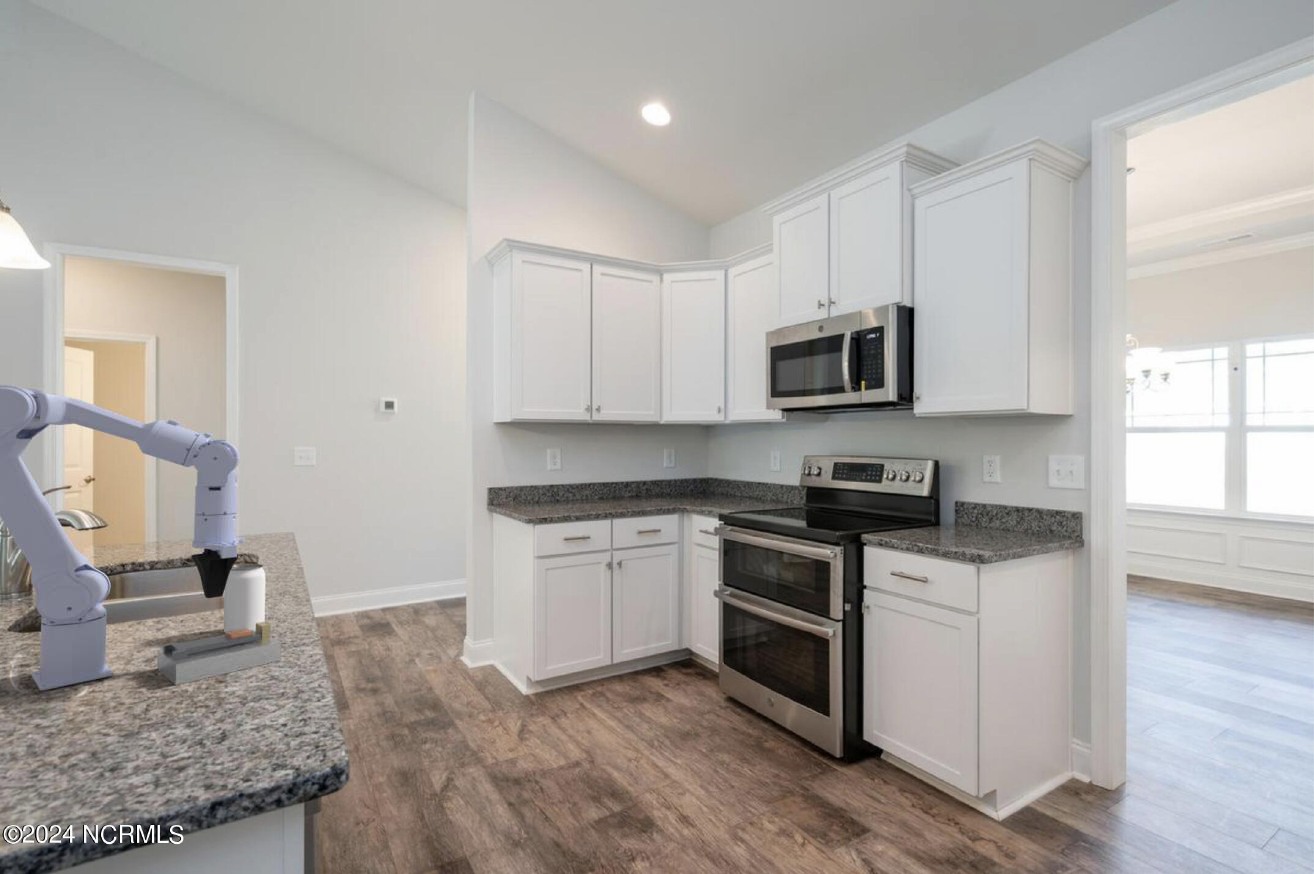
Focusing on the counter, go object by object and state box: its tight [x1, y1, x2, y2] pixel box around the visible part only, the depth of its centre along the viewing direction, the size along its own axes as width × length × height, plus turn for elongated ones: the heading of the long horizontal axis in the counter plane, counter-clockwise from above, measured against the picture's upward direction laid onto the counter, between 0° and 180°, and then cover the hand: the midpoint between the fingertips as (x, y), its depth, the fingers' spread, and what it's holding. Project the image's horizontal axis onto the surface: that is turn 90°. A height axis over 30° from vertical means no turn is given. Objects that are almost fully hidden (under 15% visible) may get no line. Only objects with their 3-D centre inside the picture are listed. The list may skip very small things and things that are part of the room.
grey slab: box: [171, 628, 261, 654], centre depth 100 cm, size 4×11×1 cm, turn 141°
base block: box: [156, 621, 282, 686], centre depth 100 cm, size 10×14×5 cm
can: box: [223, 563, 266, 633], centre depth 118 cm, size 6×6×12 cm
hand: (213, 596), depth 102 cm, fingers closed
